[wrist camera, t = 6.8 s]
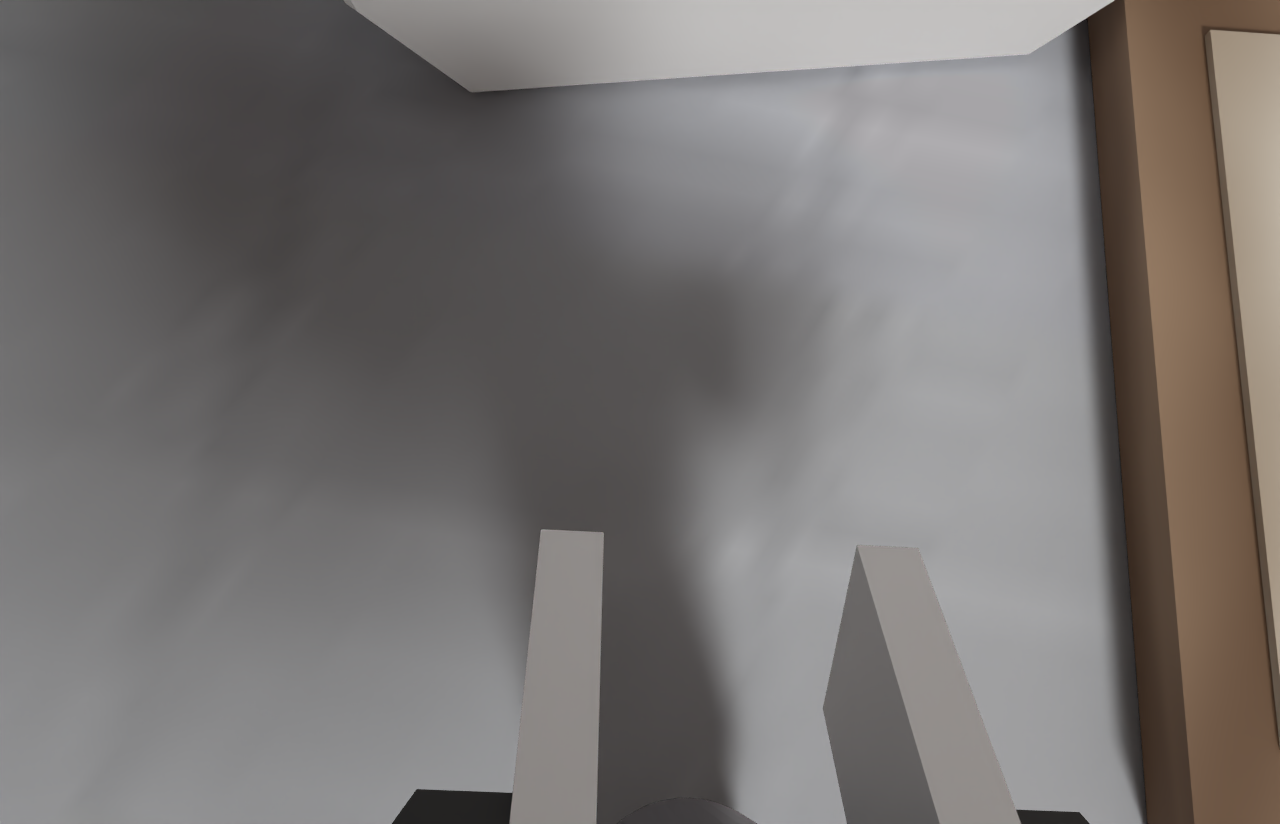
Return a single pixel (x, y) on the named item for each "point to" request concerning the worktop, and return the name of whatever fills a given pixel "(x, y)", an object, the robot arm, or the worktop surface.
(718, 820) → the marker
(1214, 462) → the writing board
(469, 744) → the worktop surface
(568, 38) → the soap bottle
